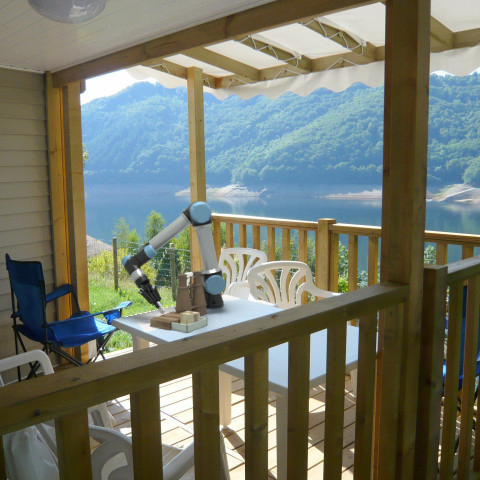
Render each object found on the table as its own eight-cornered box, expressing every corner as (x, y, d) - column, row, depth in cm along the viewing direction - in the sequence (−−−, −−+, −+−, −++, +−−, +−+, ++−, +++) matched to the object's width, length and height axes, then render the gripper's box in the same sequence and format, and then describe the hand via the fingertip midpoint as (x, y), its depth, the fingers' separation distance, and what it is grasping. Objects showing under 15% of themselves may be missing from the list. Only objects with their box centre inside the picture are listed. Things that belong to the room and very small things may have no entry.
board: (173, 318, 281) (173, 311, 281) (192, 321, 273) (192, 314, 273) (150, 326, 266) (150, 318, 266) (169, 330, 258) (169, 322, 258)
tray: (191, 322, 272) (191, 315, 272) (207, 325, 266) (207, 318, 265) (171, 329, 259) (171, 322, 259) (187, 332, 253) (187, 325, 252)
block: (187, 310, 266) (199, 312, 261) (188, 323, 267) (199, 325, 262) (180, 313, 261) (192, 315, 256) (180, 326, 262) (192, 328, 257)
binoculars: (183, 322, 274) (181, 277, 272) (171, 319, 281) (169, 275, 278) (210, 314, 289) (209, 271, 287) (199, 311, 296) (197, 269, 293)
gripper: (145, 281, 287) (167, 313, 280) (128, 285, 276) (151, 319, 269) (151, 272, 284) (175, 305, 276) (135, 276, 273) (158, 310, 266)
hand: (163, 312), depth 273 cm, fingers closed
